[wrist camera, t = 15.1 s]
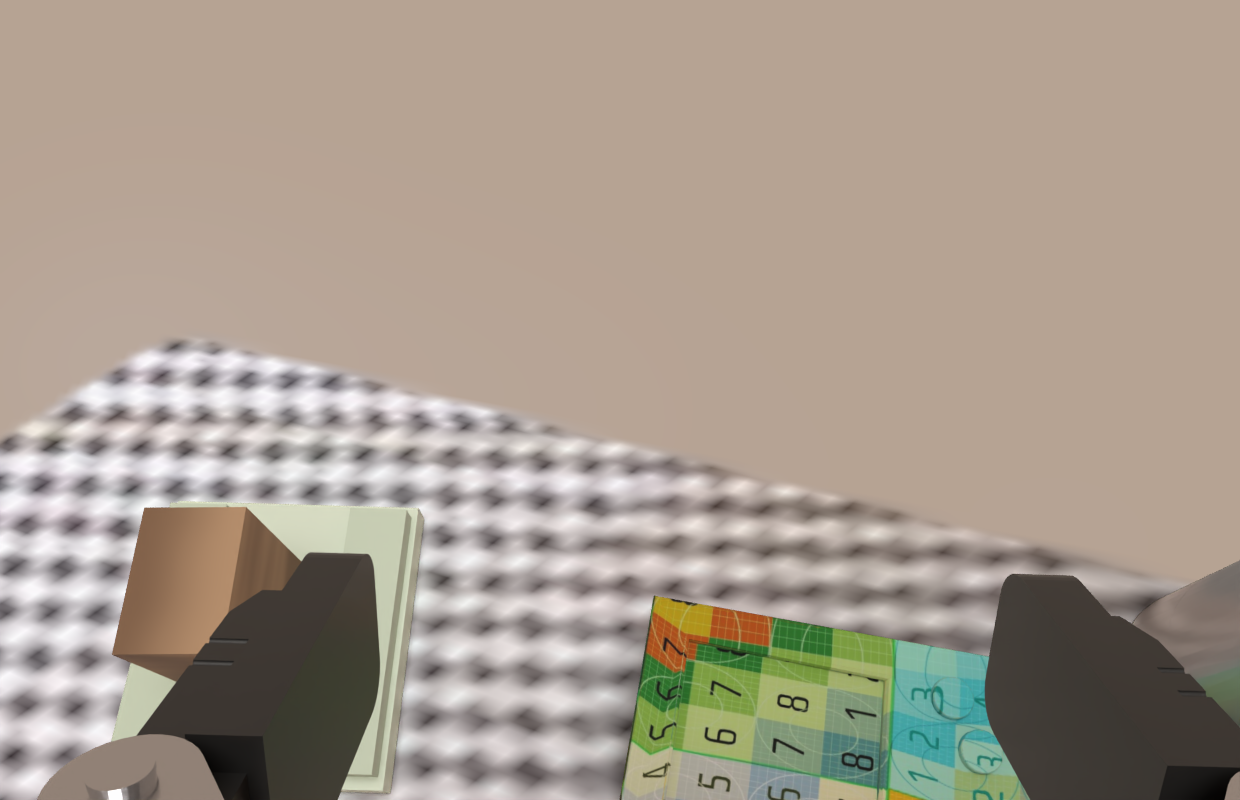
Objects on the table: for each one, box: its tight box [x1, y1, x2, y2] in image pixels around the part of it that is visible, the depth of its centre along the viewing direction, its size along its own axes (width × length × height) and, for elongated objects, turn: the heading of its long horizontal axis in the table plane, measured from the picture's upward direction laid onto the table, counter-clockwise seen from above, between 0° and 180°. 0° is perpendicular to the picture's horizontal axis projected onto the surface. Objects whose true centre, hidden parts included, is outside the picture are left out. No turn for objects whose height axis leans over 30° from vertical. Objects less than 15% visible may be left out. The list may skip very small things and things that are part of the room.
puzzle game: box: [620, 596, 1030, 800], centre depth 38 cm, size 12×5×20 cm
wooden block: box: [112, 507, 301, 682], centre depth 36 cm, size 4×5×10 cm
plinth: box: [111, 501, 424, 793], centre depth 41 cm, size 11×12×3 cm
